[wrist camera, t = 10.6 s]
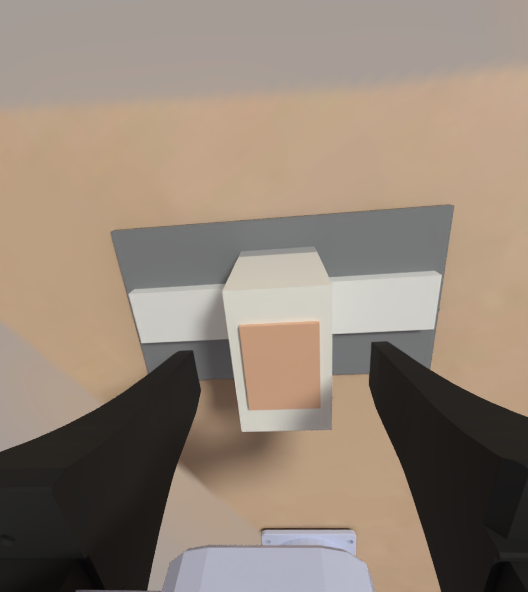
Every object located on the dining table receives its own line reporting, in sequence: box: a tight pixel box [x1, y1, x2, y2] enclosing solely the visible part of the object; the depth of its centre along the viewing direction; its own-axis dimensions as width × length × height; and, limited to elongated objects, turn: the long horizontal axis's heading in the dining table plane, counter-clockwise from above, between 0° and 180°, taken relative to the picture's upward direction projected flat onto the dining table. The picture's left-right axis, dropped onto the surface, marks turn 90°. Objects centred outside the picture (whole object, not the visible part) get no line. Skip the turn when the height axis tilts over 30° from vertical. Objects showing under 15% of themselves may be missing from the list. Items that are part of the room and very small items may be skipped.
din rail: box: [111, 205, 454, 380], centre depth 18 cm, size 10×18×1 cm, turn 95°
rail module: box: [222, 246, 333, 432], centre depth 15 cm, size 7×4×6 cm, turn 5°
